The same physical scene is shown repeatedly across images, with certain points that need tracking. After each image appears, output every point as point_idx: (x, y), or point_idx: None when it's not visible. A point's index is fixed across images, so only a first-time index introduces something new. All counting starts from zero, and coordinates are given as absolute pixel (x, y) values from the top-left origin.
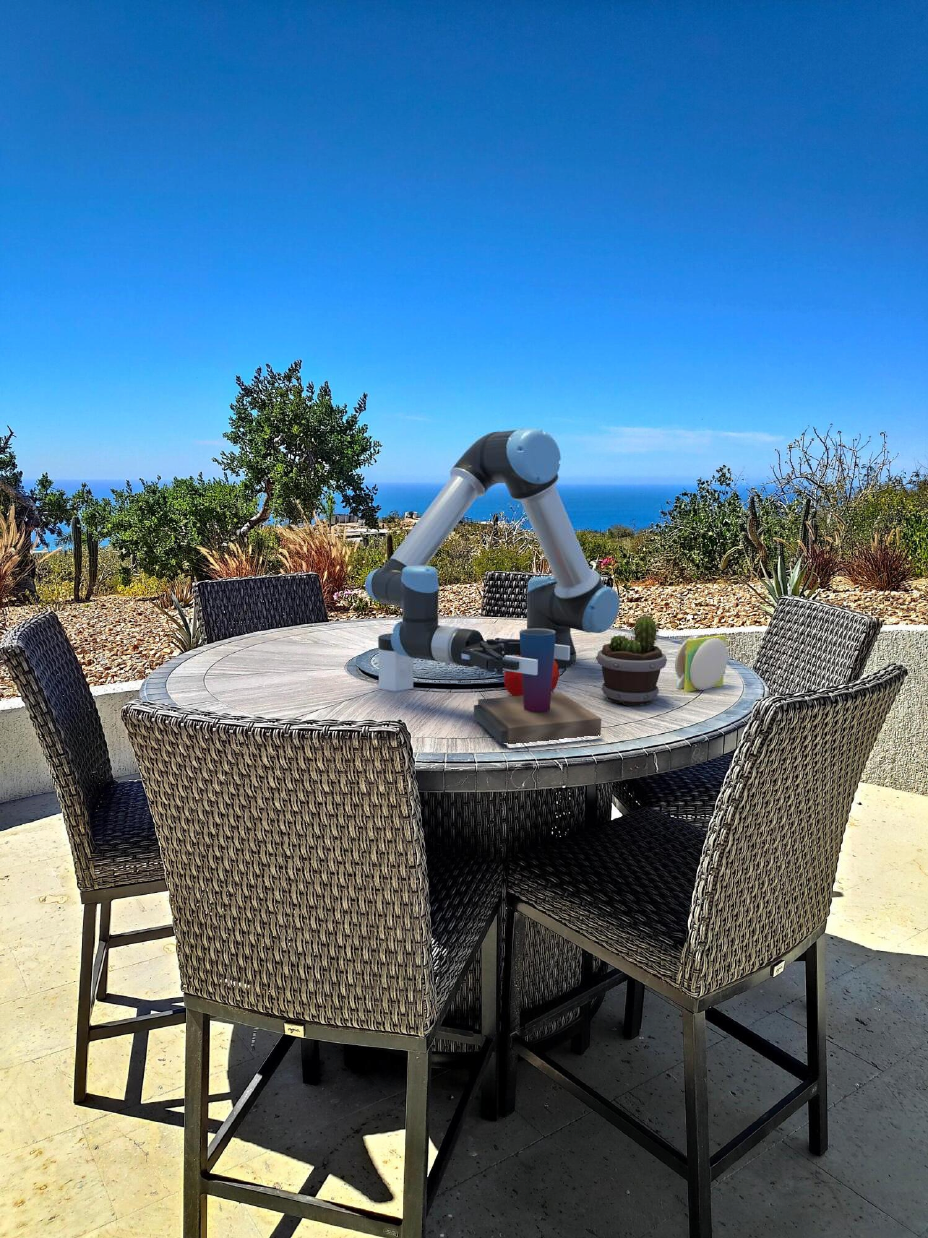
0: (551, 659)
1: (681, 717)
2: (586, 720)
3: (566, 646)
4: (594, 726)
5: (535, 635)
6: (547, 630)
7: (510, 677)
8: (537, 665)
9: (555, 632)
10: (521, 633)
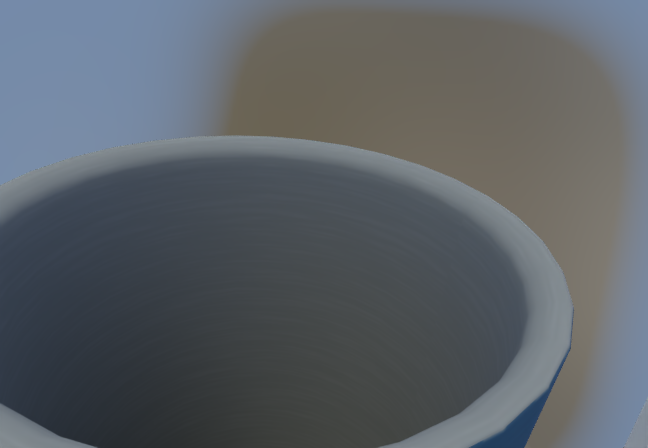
0: (312, 376)
1: None
2: None
3: None
4: None
5: (532, 235)
6: (71, 183)
7: None
8: (638, 428)
9: (259, 138)
10: (531, 410)
